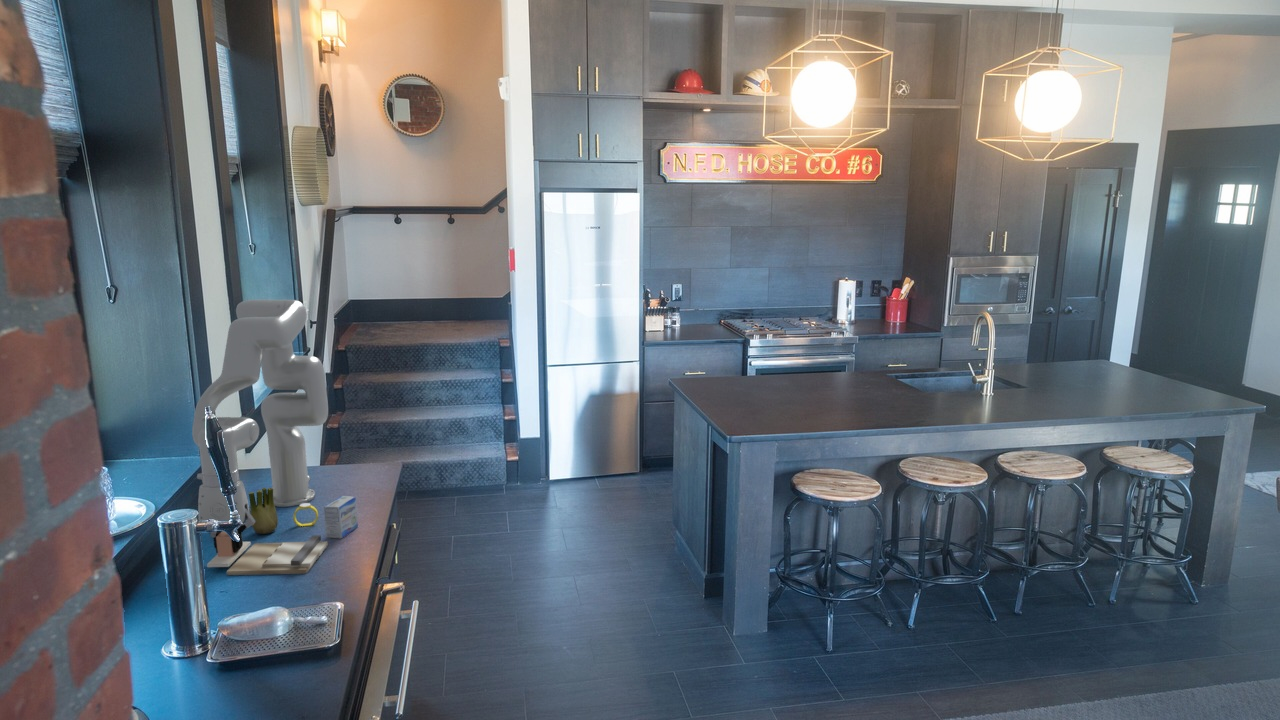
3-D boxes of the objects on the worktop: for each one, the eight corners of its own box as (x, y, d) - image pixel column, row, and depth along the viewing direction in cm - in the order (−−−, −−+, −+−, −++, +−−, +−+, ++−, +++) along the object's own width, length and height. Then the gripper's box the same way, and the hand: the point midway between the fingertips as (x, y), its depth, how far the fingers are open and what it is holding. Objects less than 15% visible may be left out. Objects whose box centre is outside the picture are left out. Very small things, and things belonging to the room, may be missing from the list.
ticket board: (255, 546, 196) (253, 535, 196) (330, 545, 197) (329, 534, 197) (227, 575, 182) (225, 563, 181) (308, 573, 183) (307, 561, 182)
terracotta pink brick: (231, 544, 194) (228, 523, 193) (250, 544, 195) (248, 522, 194) (207, 567, 183) (204, 544, 182) (228, 566, 183) (225, 543, 182)
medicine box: (341, 539, 201) (339, 507, 199) (325, 538, 202) (323, 506, 200) (358, 527, 209) (356, 496, 207) (343, 525, 209) (340, 495, 208)
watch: (318, 523, 212) (318, 502, 211) (317, 527, 209) (317, 506, 208) (294, 524, 210) (294, 503, 209) (293, 528, 207) (292, 507, 206)
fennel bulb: (251, 537, 202) (246, 493, 200) (256, 529, 207) (252, 486, 205) (275, 535, 203) (271, 491, 201) (280, 527, 208) (275, 484, 206)
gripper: (176, 484, 181) (186, 558, 184) (249, 483, 181) (257, 556, 185) (193, 473, 188) (201, 544, 192) (263, 472, 189) (270, 543, 193)
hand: (229, 549), depth 188 cm, fingers closed on terracotta pink brick, 3 cm apart
